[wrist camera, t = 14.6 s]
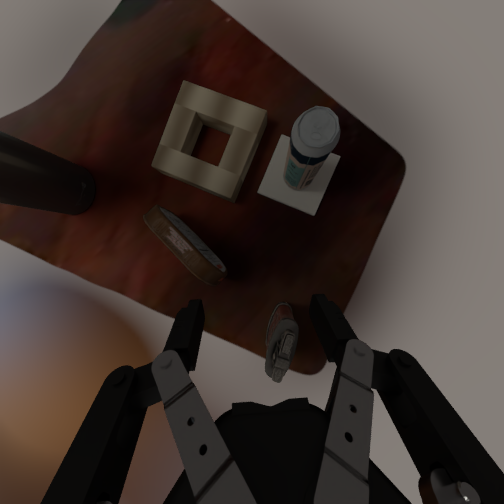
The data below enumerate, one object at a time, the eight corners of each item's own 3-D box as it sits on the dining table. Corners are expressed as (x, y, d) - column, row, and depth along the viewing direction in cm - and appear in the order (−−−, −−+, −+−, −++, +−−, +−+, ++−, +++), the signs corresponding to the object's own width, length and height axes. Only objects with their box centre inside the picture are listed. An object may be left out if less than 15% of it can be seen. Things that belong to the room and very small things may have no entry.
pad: (257, 193, 30) (257, 192, 30) (281, 136, 30) (281, 134, 29) (313, 215, 30) (314, 215, 29) (339, 157, 29) (340, 156, 29)
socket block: (162, 173, 32) (151, 165, 29) (191, 96, 31) (183, 80, 28) (234, 203, 31) (230, 198, 28) (267, 124, 30) (266, 110, 27)
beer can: (316, 163, 29) (349, 105, 17) (309, 193, 29) (337, 156, 17) (286, 158, 29) (298, 97, 17) (280, 188, 30) (287, 147, 18)
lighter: (281, 350, 31) (287, 399, 21) (262, 343, 31) (258, 389, 21) (295, 305, 30) (308, 333, 20) (275, 299, 31) (279, 324, 21)
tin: (164, 221, 32) (127, 211, 24) (176, 208, 32) (143, 194, 24) (222, 282, 31) (205, 294, 23) (235, 269, 31) (223, 277, 23)
